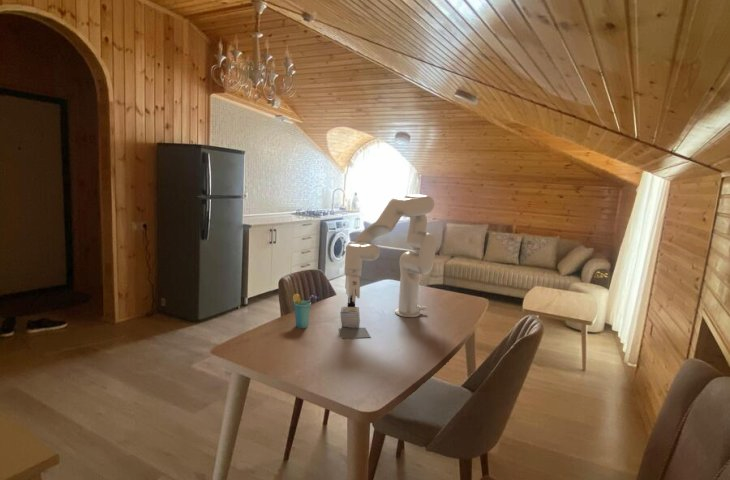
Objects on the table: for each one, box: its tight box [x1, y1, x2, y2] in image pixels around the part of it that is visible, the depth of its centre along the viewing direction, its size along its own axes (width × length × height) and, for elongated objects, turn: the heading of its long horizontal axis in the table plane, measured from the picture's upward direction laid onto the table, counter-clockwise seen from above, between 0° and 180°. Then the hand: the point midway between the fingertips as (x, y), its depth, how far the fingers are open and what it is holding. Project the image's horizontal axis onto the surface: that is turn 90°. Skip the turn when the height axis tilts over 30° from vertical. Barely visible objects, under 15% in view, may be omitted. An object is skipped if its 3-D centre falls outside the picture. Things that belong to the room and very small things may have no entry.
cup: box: [292, 293, 319, 329], centre depth 173 cm, size 14×8×15 cm, turn 67°
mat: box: [338, 327, 372, 340], centre depth 169 cm, size 12×11×1 cm
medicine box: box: [339, 306, 361, 328], centre depth 174 cm, size 8×4×9 cm, turn 85°
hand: (351, 311), depth 177 cm, fingers closed
